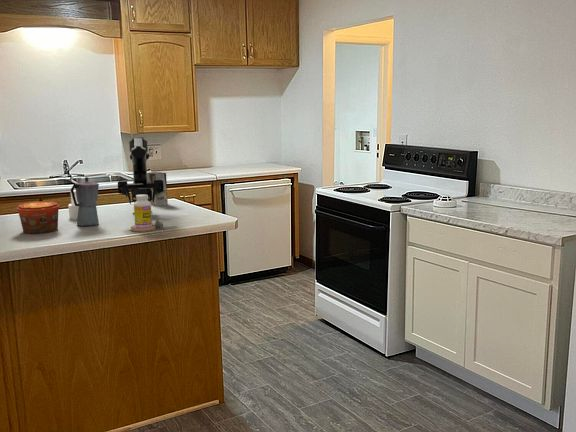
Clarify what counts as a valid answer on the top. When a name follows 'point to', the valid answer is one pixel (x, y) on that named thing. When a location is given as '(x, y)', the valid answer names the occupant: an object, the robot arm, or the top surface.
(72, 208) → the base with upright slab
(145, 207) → the supplement bottle
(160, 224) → the low wall
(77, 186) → the moka pot
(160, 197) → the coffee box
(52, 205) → the food container
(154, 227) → the coaster
